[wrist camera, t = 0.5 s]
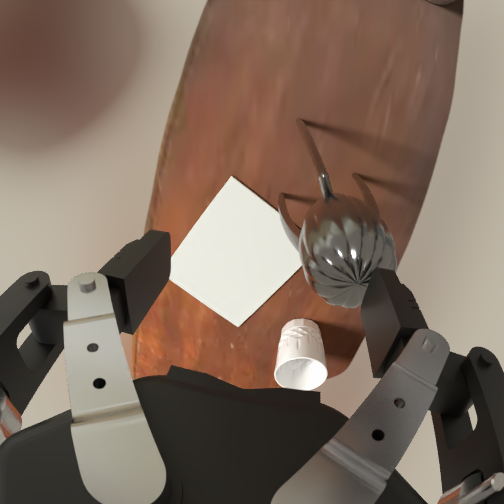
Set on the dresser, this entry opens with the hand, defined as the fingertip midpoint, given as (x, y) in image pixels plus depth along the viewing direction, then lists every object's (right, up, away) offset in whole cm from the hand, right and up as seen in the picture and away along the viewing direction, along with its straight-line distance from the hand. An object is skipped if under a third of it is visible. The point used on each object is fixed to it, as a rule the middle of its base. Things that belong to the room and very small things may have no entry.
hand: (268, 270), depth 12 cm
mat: (-3, 0, +35) cm, 35 cm away
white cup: (+8, -13, +40) cm, 43 cm away
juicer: (+7, +14, +27) cm, 31 cm away
